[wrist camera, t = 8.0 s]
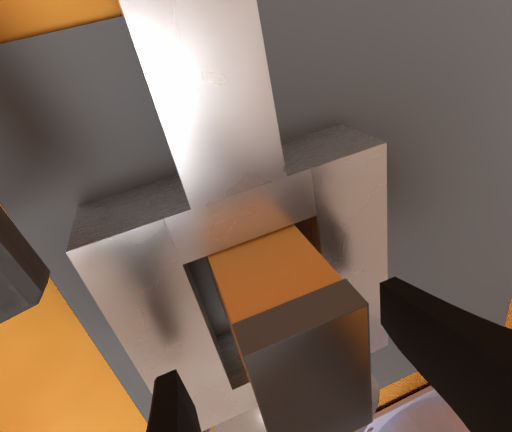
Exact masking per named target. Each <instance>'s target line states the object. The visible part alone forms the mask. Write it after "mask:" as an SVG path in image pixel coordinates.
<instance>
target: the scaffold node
mask: <svg viewBox="0 0 512 432" xmlns="http://www.w3.org/2000/svg"><path fill="white" fill-rule="evenodd" d="M117 3H118V6H119V9H120V12H121V14H122V17H123V20H124V23H125V26H126V29H127V32H128V35H129V37H130V40H131V43H132V46H133V49H134V52H135V55H136V57H137V60H138V63H139V66H140V69H141V72H142V75H143V77H144V80H145V83H146V86H147V89H148V92H149V95H150V97H151V100H152V103H153V106H154V109H155V112H156V115H157V118H158V120H159V123H160V126H161V129H162V132H163V135H164V138H165V140H166V143H167V146H168V149H169V152H170V155H171V158H172V160H173V163H174V166H175V169H176V172H177V174H175V175H172V176H169V177H166V178H163V179H160V180H156V181H153V182H150V183H147V184H144V185H141V186H138V187H135V188H131V189H128V190H125V191H122V192H119V193H116V194H113V195H110V196H106V197H103V198H100V199H97V200H94V201H91V202H88V203H85V204H81V205H78V206H77V209H76V213H75V217H74V221H73V225H72V229H71V233H70V237H69V241H68V245H67V249H66V254H67V255H68V257H69V259H70V260H71V262H72V264H73V265H74V267H75V268H76V270H77V272H78V273H79V275H80V277H81V278H82V280H83V282H84V283H85V285H86V287H87V288H88V290H89V291H90V293H91V295H92V296H93V298H94V300H95V301H96V303H97V305H98V306H99V308H100V310H101V311H102V313H103V314H104V316H105V318H106V319H107V321H108V323H109V324H110V326H111V328H112V329H113V331H114V333H115V334H116V336H117V338H118V339H119V341H120V342H121V344H122V346H123V347H124V349H125V351H126V352H127V354H128V356H129V357H130V359H131V361H132V362H133V364H134V365H135V367H136V369H137V370H138V372H139V374H140V375H141V377H142V379H143V380H144V382H145V384H146V385H147V387H148V388H149V390H150V392H151V393H152V395H153V388H154V381H155V379H156V377H158V376H160V375H163V374H165V373H167V372H170V371H172V370H175V369H176V370H177V372H178V374H179V376H180V378H181V380H182V382H183V384H184V386H185V387H186V389H187V391H188V393H189V395H190V397H191V399H192V401H193V403H194V405H195V407H196V411H197V415H198V419H199V424H200V428H201V432H202V431H204V430H205V431H204V432H267V431H266V428H265V425H264V422H263V419H262V416H261V413H260V410H259V407H258V404H257V401H256V398H255V395H254V392H253V389H252V386H251V383H250V381H249V378H248V375H247V372H246V370H245V367H244V364H243V362H242V359H241V356H240V353H239V351H238V348H237V345H236V343H235V340H234V337H233V334H232V332H231V330H229V331H227V332H224V333H222V334H219V335H217V336H215V333H214V330H213V328H212V325H211V323H210V320H209V318H208V315H207V312H206V310H205V307H204V305H203V302H202V300H201V297H200V294H199V292H198V289H197V287H196V284H195V282H194V279H193V276H192V274H191V271H190V269H189V266H188V264H187V263H189V262H192V261H194V260H197V259H200V258H202V257H205V256H208V255H210V254H213V253H216V252H219V251H221V250H224V249H227V248H229V247H232V246H235V245H238V244H240V243H243V242H246V241H248V240H251V239H254V238H256V237H259V236H262V235H265V234H267V233H270V232H273V231H275V230H278V229H281V228H283V227H286V226H289V225H292V224H294V225H295V226H296V227H297V228H298V230H299V231H300V232H301V233H302V234H303V235H304V236H305V237H306V239H307V240H308V241H309V242H310V243H311V244H312V245H313V246H314V247H315V249H316V250H317V251H318V252H319V253H320V254H321V255H322V256H323V257H324V259H325V260H326V261H327V262H328V263H329V264H330V265H331V266H332V267H333V269H334V270H335V271H336V272H337V273H338V274H339V275H340V276H341V278H342V279H345V278H346V279H347V280H348V281H349V282H350V284H351V285H352V286H353V287H354V288H355V289H356V290H357V291H358V292H359V293H360V295H361V296H362V297H363V298H364V299H365V300H366V301H367V302H368V303H369V325H370V353H373V352H375V351H377V350H379V349H381V348H383V347H385V346H388V334H387V332H386V331H385V329H384V328H383V327H382V325H381V322H380V285H379V283H380V282H383V281H385V280H387V279H388V259H387V143H386V142H384V141H381V140H379V139H377V138H374V137H372V136H369V135H367V134H365V133H362V132H360V131H357V130H355V129H353V128H350V127H348V126H345V125H343V124H341V123H335V124H331V125H328V126H325V127H322V128H319V129H316V130H313V131H310V132H306V133H303V134H300V135H297V136H294V137H291V138H288V139H285V140H280V134H279V129H278V123H277V117H276V111H275V105H274V99H273V94H272V88H271V82H270V76H269V70H268V64H267V59H266V53H265V47H264V41H263V35H262V29H261V24H260V18H259V12H258V6H257V0H117ZM371 385H372V416H374V414H375V412H376V409H377V406H378V402H379V386H378V383H377V380H376V379H375V377H374V376H373V374H372V373H371ZM368 425H369V424H368ZM368 425H366V426H364V427H362V428H360V429H358V430H356V431H354V432H364V431H365V429H366V428H367V426H368Z"/></svg>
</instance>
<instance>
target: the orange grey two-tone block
mask: <svg viewBox="0 0 512 432" xmlns="http://www.w3.org/2000/svg"><path fill="white" fill-rule="evenodd" d="M206 259H207V262H208V265H209V268H210V271H211V274H212V277H213V280H214V283H215V286H216V289H217V292H218V295H219V298H220V301H221V304H222V307H223V310H224V313H225V315H226V318H227V321H228V324H229V326H230V329H231V332H232V334H233V337H234V340H235V343H236V345H237V348H238V351H239V353H240V356H241V359H242V362H243V364H244V367H245V370H246V372H247V375H248V378H249V381H250V383H251V386H252V389H253V392H254V395H255V398H256V401H257V404H258V407H259V410H260V413H261V416H262V419H263V422H264V425H265V428H266V431H267V432H354V431H356V430H358V429H360V428H362V427H364V426H366V425H368V424H370V423H372V422H373V416H372V385H371V355H370V325H369V303H368V302H367V301H366V300H365V299H364V298H363V297H362V296H361V295H360V293H359V292H358V291H357V290H356V289H355V288H354V287H353V286H352V285H351V284H350V282H349V281H348V280H347V279H346V278H345V279H342V278H341V276H340V275H339V274H338V273H337V272H336V271H335V270H334V269H333V267H332V266H331V265H330V264H329V263H328V262H327V261H326V260H325V259H324V257H323V256H322V255H321V254H320V253H319V252H318V251H317V250H316V249H315V247H314V246H313V245H312V244H311V243H310V242H309V241H308V240H307V239H306V237H305V236H304V235H303V234H302V233H301V232H300V231H299V230H298V228H297V227H296V226H295V225H294V224H292V225H289V226H286V227H283V228H281V229H278V230H275V231H273V232H270V233H267V234H265V235H262V236H259V237H256V238H254V239H251V240H248V241H246V242H243V243H240V244H238V245H235V246H232V247H229V248H227V249H224V250H221V251H219V252H216V253H213V254H210V255H208V256H206Z"/></svg>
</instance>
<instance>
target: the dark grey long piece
mask: <svg viewBox="0 0 512 432" xmlns="http://www.w3.org/2000/svg"><path fill="white" fill-rule="evenodd" d="M49 275H50V270H49V269H48V267H47V266H46V265H45V263H44V262H43V261H42V260H41V258H40V257H39V256H38V254H37V253H36V252H35V251H34V249H33V248H32V247H31V245H30V244H29V243H28V241H27V240H26V239H25V238H24V236H23V235H22V234H21V232H20V231H19V230H18V229H17V227H16V226H15V225H14V223H13V222H12V221H11V219H10V218H9V217H8V216H7V214H6V213H5V212H4V210H3V209H2V208H1V207H0V323H2V322H4V321H6V320H8V319H10V318H12V317H14V316H16V315H18V314H20V313H22V312H23V311H25V310H27V309H29V308H31V307H33V306H35V305H37V304H39V302H40V299H41V297H42V294H43V292H44V290H45V287H46V285H47V283H48V279H49Z"/></svg>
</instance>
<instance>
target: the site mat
mask: <svg viewBox="0 0 512 432" xmlns="http://www.w3.org/2000/svg"><path fill="white" fill-rule="evenodd" d="M257 6H258V12H259V18H260V24H261V29H262V35H263V41H264V47H265V53H266V59H267V64H268V70H269V76H270V82H271V88H272V94H273V99H274V105H275V111H276V117H277V123H278V129H279V134H280V140H285V139H288V138H291V137H294V136H297V135H300V134H303V133H306V132H310V131H313V130H316V129H319V128H322V127H325V126H328V125H331V124H335V123H341V124H343V125H345V126H348V127H350V128H353V129H355V130H357V131H360V132H362V133H365V134H367V135H369V136H372V137H374V138H377V139H379V140H381V141H384V142H386V143H387V259H388V279H390V278H392V277H397V278H399V279H401V280H403V281H405V282H407V283H409V284H411V285H413V286H415V287H417V288H419V289H421V290H423V291H425V292H427V293H429V294H432V295H434V296H436V297H438V298H440V299H442V300H444V301H446V302H448V303H450V304H452V305H455V306H457V307H459V308H461V309H463V310H466V311H468V312H470V313H472V314H475V315H477V316H479V317H482V318H484V319H487V320H489V321H491V322H494V323H496V324H499V325H501V326H504V325H505V321H506V317H507V313H508V309H509V305H510V301H511V296H512V0H257ZM175 174H177V172H176V169H175V166H174V163H173V160H172V158H171V155H170V152H169V149H168V146H167V143H166V140H165V138H164V135H163V132H162V129H161V126H160V123H159V120H158V118H157V115H156V112H155V109H154V106H153V103H152V100H151V97H150V95H149V92H148V89H147V86H146V83H145V80H144V77H143V75H142V72H141V69H140V66H139V63H138V60H137V57H136V55H135V52H134V49H133V46H132V43H131V40H130V37H129V35H128V32H127V29H126V26H125V23H124V20H123V17H122V16H120V17H116V18H112V19H107V20H103V21H99V22H94V23H90V24H86V25H81V26H77V27H72V28H68V29H64V30H59V31H55V32H51V33H46V34H42V35H37V36H33V37H29V38H24V39H20V40H16V41H11V42H7V43H3V44H0V203H1V205H2V206H3V208H4V209H5V211H6V212H7V214H8V215H9V217H10V218H11V220H12V221H13V223H14V224H15V226H16V227H17V229H18V230H19V231H20V232H21V234H22V235H23V236H24V238H25V239H26V240H27V241H28V243H29V244H30V245H31V247H32V248H33V249H34V251H35V252H36V253H37V254H38V256H39V257H40V258H41V260H42V261H43V262H44V263H45V265H46V266H47V267H48V269H49V270H50V275H49V276H50V278H51V279H52V281H53V282H54V284H55V285H56V287H57V288H58V290H59V291H60V293H61V294H62V296H63V297H64V299H65V300H66V302H67V303H68V305H69V306H70V308H71V309H72V311H73V312H74V314H75V315H76V317H77V318H78V320H79V321H80V323H81V324H82V326H83V327H84V329H85V330H86V332H87V333H88V335H89V336H90V338H91V339H92V341H93V342H94V344H95V345H96V347H97V348H98V350H99V351H100V353H101V354H102V356H103V357H104V359H105V360H106V362H107V363H108V365H109V366H110V368H111V369H112V371H113V372H114V374H115V375H116V377H117V378H118V380H119V381H120V383H121V384H122V386H123V387H124V389H125V390H126V392H127V393H128V395H129V396H130V398H131V399H132V401H133V402H134V404H135V405H136V407H137V408H138V410H139V411H140V413H141V414H142V416H143V417H144V419H145V420H146V422H147V423H148V420H149V414H150V409H151V402H152V393H151V392H150V390H149V388H148V387H147V385H146V384H145V382H144V380H143V379H142V377H141V375H140V374H139V372H138V370H137V369H136V367H135V365H134V364H133V362H132V361H131V359H130V357H129V356H128V354H127V352H126V351H125V349H124V347H123V346H122V344H121V342H120V341H119V339H118V338H117V336H116V334H115V333H114V331H113V329H112V328H111V326H110V324H109V323H108V321H107V319H106V318H105V316H104V314H103V313H102V311H101V310H100V308H99V306H98V305H97V303H96V301H95V300H94V298H93V296H92V295H91V293H90V291H89V290H88V288H87V287H86V285H85V283H84V282H83V280H82V278H81V277H80V275H79V273H78V272H77V270H76V268H75V267H74V265H73V264H72V262H71V260H70V259H69V257H68V255H67V254H66V249H67V245H68V241H69V237H70V233H71V229H72V225H73V221H74V217H75V213H76V209H77V206H78V205H81V204H85V203H88V202H91V201H94V200H97V199H100V198H103V197H106V196H110V195H113V194H116V193H119V192H122V191H125V190H128V189H131V188H135V187H138V186H141V185H144V184H147V183H150V182H153V181H156V180H160V179H163V178H166V177H169V176H172V175H175ZM187 264H188V266H189V269H190V271H191V274H192V276H193V279H194V282H195V284H196V287H197V289H198V292H199V294H200V297H201V300H202V302H203V305H204V307H205V310H206V312H207V315H208V318H209V320H210V323H211V325H212V328H213V330H214V333H215V336H217V335H219V334H222V333H224V332H227V331H229V330H231V329H230V326H229V324H228V321H227V318H226V315H225V313H224V310H223V307H222V304H221V301H220V298H219V295H218V292H217V289H216V286H215V283H214V280H213V277H212V274H211V271H210V268H209V265H208V262H207V259H206V256H205V257H202V258H200V259H197V260H194V261H192V262H189V263H187ZM370 355H371V373H372V374H373V376H374V377H375V379H376V380H377V383H378V386H379V389H381V388H383V387H385V386H387V385H389V384H392V383H394V382H396V381H398V380H400V379H402V378H404V377H406V376H408V375H410V374H412V373H414V372H416V371H417V370H416V368H415V367H414V366H413V365H412V364H411V363H410V362H409V361H408V359H407V358H406V357H405V356H404V355H403V354H402V353H401V351H400V350H399V349H398V348H397V346H396V345H395V344H394V342H393V341H392V340H391V338H390V337H389V335H388V346H385V347H383V348H381V349H379V350H377V351H375V352H373V353H370ZM204 431H205V430H204ZM204 431H202V432H204Z"/></svg>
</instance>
